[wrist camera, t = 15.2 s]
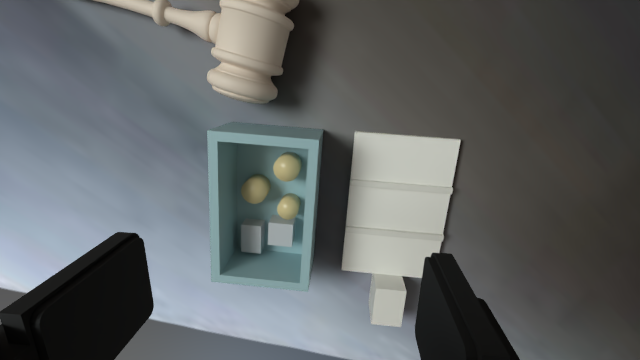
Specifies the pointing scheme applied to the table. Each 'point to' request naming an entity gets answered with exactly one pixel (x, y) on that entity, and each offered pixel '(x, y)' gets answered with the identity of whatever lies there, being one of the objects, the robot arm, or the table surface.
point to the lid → (396, 212)
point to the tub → (263, 204)
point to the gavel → (233, 41)
